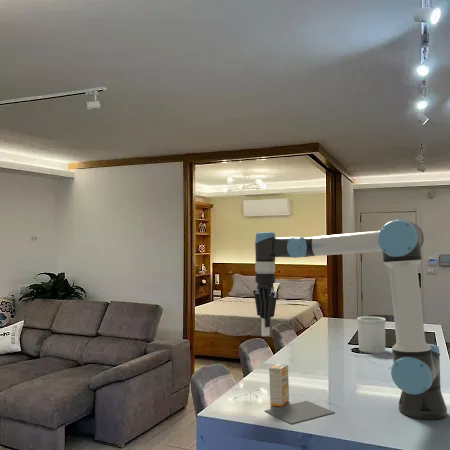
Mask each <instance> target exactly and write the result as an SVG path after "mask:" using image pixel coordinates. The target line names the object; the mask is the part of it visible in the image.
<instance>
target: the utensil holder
mask: <svg viewBox="0 0 450 450" xmlns="http://www.w3.org/2000/svg"><path fill="white" fill-rule="evenodd" d="M356 319H357V332H358V333H357V335H358V336H357V337H358V338H357V339H358V350H359V352H362V353H366V354H367V353H368V354H382V353H385V352H386V318H385V317H381V316H368V315H367V316H359V317H357V318H356Z"/></svg>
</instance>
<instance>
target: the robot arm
mask: <svg viewBox="0 0 450 450" xmlns="http://www.w3.org/2000/svg"><path fill="white" fill-rule="evenodd" d="M424 237H425V236H424V233H423V230H422V229H421V228H420V226H419V225H417V224H416V223H414V222H411V221H408V220H405V219H394V220H391V221H388V222H387V223H385V224H384V225H383V226H381V228H380V230H373V231H372V230H371V231H362V232H361V231H360V232H349V233H339V234H330V235H319V236H318V235H317V236H307V237H302V236H301V237H300V236H285V237H284V236H281V237H277V236H276V233H275V232H273V231H262V232H257V233H256V234H255V240H254V245H255V248H254V249H255V263H254V270H255V271H254V272H256V273H255V275H254V276H255V279H254V280H255V283H256V284H257V285H256V289H253V292H252V293H253V295H254V296H253V297H254V302H255V309H256V315H257V316H259V318H260V326H261V337H268V336H269V337H270V336H271V335H270V331H271V330H270V329H271V328H270V327H271V318H274V317H275V311H276V305H277V298H278V296H279V292H277V291H275V287H274V284H276V274H275V272H276V258H293V259H298V258H309V257H317V256H319V257H320V256H321V257H322V256H333V255H336V256H337V255H347V254H362V253H377V252H379V253H381V252H382V260H383V261H382V262H383V264H384V265H385V266H387V267H388V271H389V272H388V273H389V280H390V291H391V300H392V310H393V320H394V321H393V322H394V328H395V329H394V331H395V332H394V333H395V339H396V340H395V341H396V342H395V343H394V345H392V347H391V349H392V361H393V362H392V366H391V368H390V369H391V370H390V374H391V379H392V381H393V383H394V385H395V386H396V387H397V388H398V389H399V390H401V394H400V397H399V401H398V411H399V412H400V413H402V414H403V415H405V416H408V417H411V418H415V419H421V420H429V421H431V420H433V421H435V420H442V419H445V418H447V416H448V407H447V405H446V402H445V399H444V396H443V393H442V389H441V364H440V363H441V362H440V361H441V360H440V357H441V352H440V347H439V346H438V345H436V344H432V343H427V341H426V335H425V328H424V327H425V326H424V317H423V307H422V305H423V304H422V296H421V289H420V279H419V278H420V277H419V271H418V270H419V268H418V266H419V264H420V263H421V262H422V261H423V259H422V249H421V248H422V247H423V245H424V241H425V240H424V239H425V238H424Z"/></svg>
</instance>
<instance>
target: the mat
mask: <svg viewBox="0 0 450 450" xmlns="http://www.w3.org/2000/svg"><path fill="white" fill-rule="evenodd" d="M264 412H266V413H267V414H269V415H271V416H274V417H275V418H278V419H279V420H282V421H283V422H286V423H288V424H289V425H294V424H298V423H302V422H306V421H310V420H313V419H318V418H321V417H324V416H329V415H333V414H335V411H333V410H331V409H328V408H326V407H324V406H321V405H318V404H316V403H314V402H311V401H308V400H304V401H300V402H299V401H298V402H296V403H295V402H294V403H291V404H285V405H283V406H277V407H274V408H269V409H265V410H264Z"/></svg>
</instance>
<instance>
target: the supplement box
mask: <svg viewBox="0 0 450 450" xmlns="http://www.w3.org/2000/svg"><path fill="white" fill-rule="evenodd" d="M268 369H269V371H268V372H269V373H268V374H269V403H270V406H274V407H282V406H285V405H286V403H288V402H289V401H290V387H289V384H290V381H289V364H288V363H285V364H284V363H276V364H273V365H272V366H271V367H269V368H268Z"/></svg>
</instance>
